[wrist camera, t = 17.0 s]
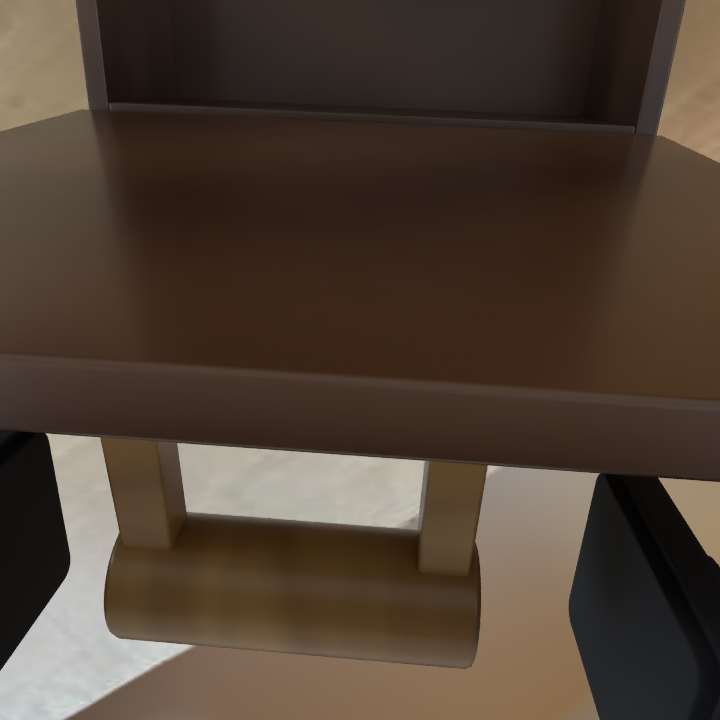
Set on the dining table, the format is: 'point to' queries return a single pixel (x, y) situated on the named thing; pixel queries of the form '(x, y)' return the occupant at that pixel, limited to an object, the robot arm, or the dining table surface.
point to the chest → (387, 60)
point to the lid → (350, 345)
